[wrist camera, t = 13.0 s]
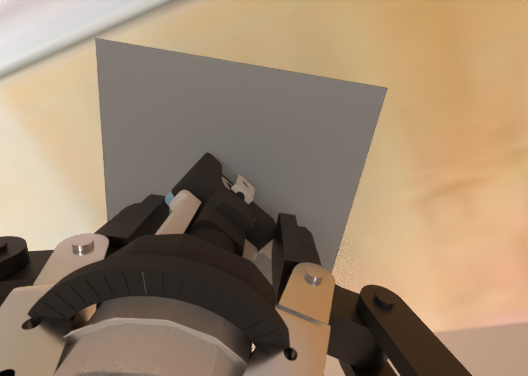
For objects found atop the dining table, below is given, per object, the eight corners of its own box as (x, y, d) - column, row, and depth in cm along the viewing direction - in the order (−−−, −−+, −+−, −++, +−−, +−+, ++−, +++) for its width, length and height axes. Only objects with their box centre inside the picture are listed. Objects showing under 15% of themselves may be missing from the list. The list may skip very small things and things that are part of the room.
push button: (316, 214, 14) (423, 481, 4) (247, 272, 15) (216, 568, 6) (222, 124, 12) (72, 241, 3) (155, 198, 13) (-98, 444, 4)
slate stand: (359, 88, 16) (387, 87, 13) (311, 268, 21) (321, 306, 18) (136, 50, 16) (95, 37, 12) (139, 245, 21) (111, 280, 17)
